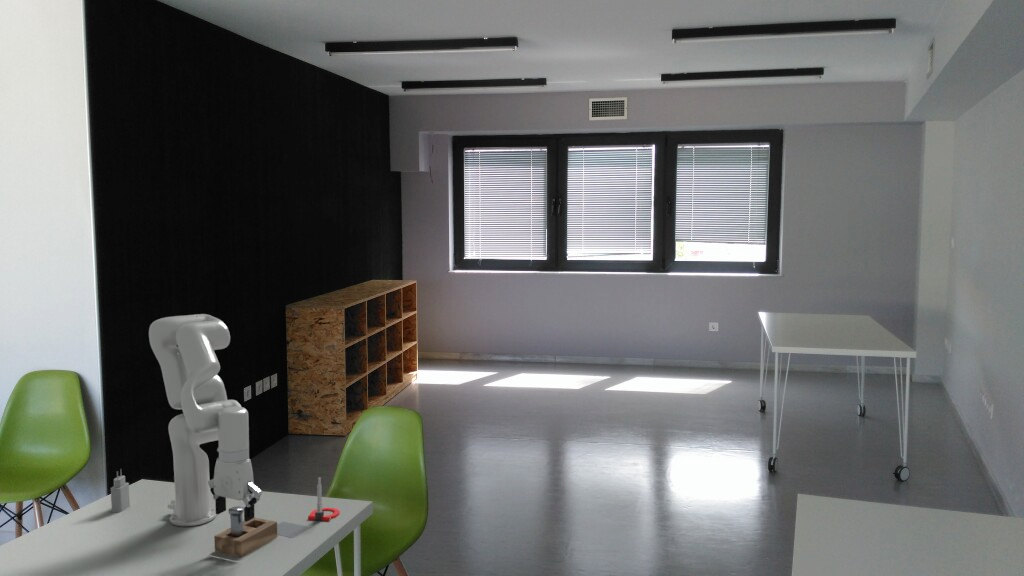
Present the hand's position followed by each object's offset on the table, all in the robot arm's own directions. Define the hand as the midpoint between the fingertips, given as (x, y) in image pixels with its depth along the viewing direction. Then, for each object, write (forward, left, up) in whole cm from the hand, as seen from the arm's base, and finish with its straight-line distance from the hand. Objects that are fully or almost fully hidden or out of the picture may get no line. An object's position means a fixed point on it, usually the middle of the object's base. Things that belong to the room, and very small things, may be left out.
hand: (235, 516), depth 208 cm
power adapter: (-52, +8, -9) cm, 54 cm away
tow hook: (+8, +28, -10) cm, 31 cm away
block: (+1, +3, -9) cm, 10 cm away
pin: (+1, 0, -9) cm, 9 cm away
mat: (+5, +15, -9) cm, 18 cm away
